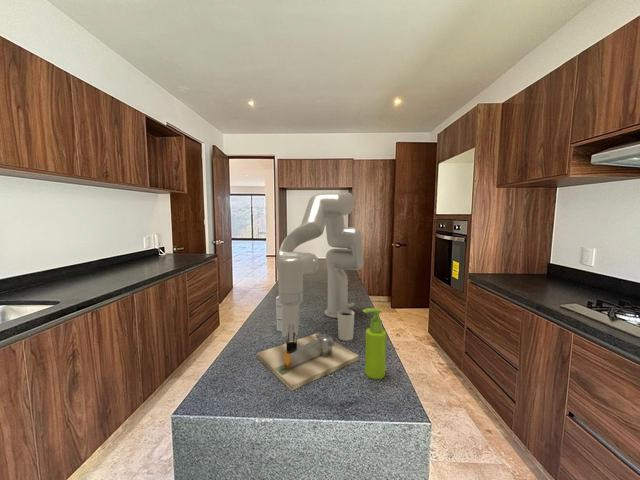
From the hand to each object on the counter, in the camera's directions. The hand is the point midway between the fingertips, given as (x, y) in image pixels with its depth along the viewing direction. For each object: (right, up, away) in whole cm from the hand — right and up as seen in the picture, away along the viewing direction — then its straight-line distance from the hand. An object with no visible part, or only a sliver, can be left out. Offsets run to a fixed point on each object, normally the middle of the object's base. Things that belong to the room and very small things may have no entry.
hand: (291, 353), depth 85 cm
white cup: (+19, -3, +21) cm, 28 cm away
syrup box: (-6, -2, +28) cm, 29 cm away
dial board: (+5, -4, +5) cm, 8 cm away
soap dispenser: (+25, -5, -3) cm, 26 cm away
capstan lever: (+5, -2, +1) cm, 6 cm away
